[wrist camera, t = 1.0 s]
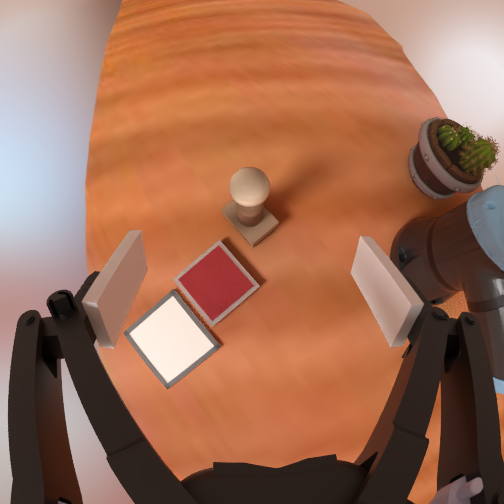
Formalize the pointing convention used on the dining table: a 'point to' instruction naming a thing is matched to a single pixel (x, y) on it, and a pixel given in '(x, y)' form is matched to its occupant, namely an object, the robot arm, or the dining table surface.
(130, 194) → the dining table surface
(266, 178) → the stamp
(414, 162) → the flowerpot
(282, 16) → the dining table surface
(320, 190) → the dining table surface
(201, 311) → the ink pad
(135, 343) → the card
